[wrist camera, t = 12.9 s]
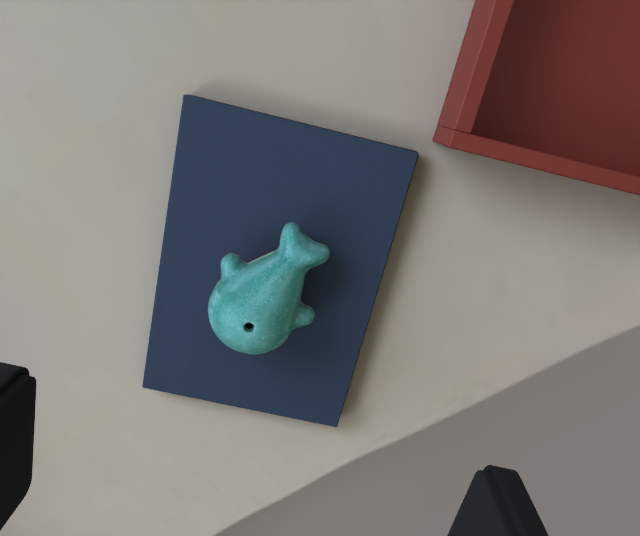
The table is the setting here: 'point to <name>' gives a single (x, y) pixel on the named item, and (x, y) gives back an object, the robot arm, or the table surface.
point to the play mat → (263, 238)
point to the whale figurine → (265, 294)
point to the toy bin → (550, 88)
